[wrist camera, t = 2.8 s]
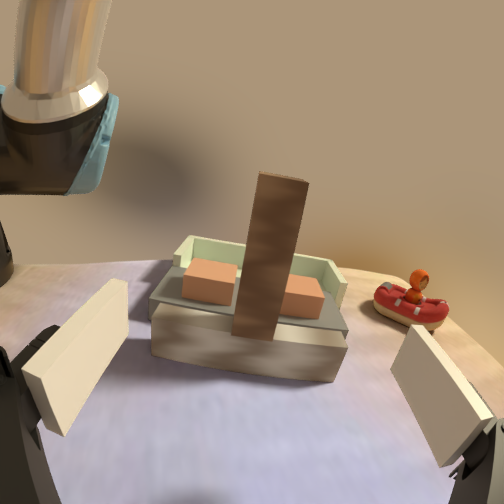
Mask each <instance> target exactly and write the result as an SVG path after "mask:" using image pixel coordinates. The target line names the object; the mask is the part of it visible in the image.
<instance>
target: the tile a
mask: <svg viewBox="0 0 504 504" xmlns="http://www.w3.org/2000/svg"><path fill="white" fill-rule="evenodd" d="M237 268H238V265H234V264H228V263H222V262H217V261H211V260H205V259H200V258H193V260H192V261H191V263H190V265H189V266H188V268H187V270H186V271H185V273H184V275H183V286H182V297H183V298H188V299H194V300H199V301H204V302H210V303H215V304H221V305H226V306H231V303H232V297H233V291H234V286H235V280H236V274H237Z"/></svg>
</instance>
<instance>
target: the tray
mask: <svg viewBox="0 0 504 504" xmlns="http://www.w3.org/2000/svg"><path fill="white" fill-rule="evenodd" d="M245 248H246V245H244V244H238V243H232V242H226V241H221V240H214V239H209V238H203V237H197V236H191V235H189V236H188V237H187V239H186V240H185V241H184V242H183V243H182V245H181V246H180V247H179V248H178V249H177V250H176V252H175V253H174V255H173V266H178V267H183V268H188V266H189V265H190V263H191V261H192V260H193V258H200V259H205V260H211V261H217V262H222V263H228V264H234V265H238V268H237V274H236V277H239V278H240V277H241V271H242V266H243V260H244V254H245ZM289 274H293V275H299V276H305V277H312V278H316V279H317V281H318V283H319V285H320V288H321V290H322V291H326V292H330V293H331V295H332V297H333V299H334V301H335V303H336V305H337V307H338V309H339V310H340V307H341V304H342V301H343V297H344V294H345V291H346V288H347V285H348V283H347V282H346V280H345V279H344V277H343V276H342V274H341V273H340V271H339V270H338V268H337V267H336V265H335V264H334V262H333V261H332V260H329V259H324V258H318V257H313V256H307V255H301V254H295V253H294V256H293V260H292V264H291V269H290V273H289Z"/></svg>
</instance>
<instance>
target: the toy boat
mask: <svg viewBox="0 0 504 504" xmlns="http://www.w3.org/2000/svg"><path fill="white" fill-rule="evenodd" d="M428 281H429V276H428V274H427V272H425V271H424V270H420V269H419V270H415V271H414V272H413V273H412V274H411V276H410V285H411V286H412V288H410V289H408V290H407V289H405V288H402V287H400V286H398V285H395V284H391V283H389V282H385V283H383V284H382V285H381V286H379V287H378V288H377V290H376V292H375V293H374V307H375V309H376V310H377V311H378V312H379V313H380V314H382V315H384V316H386V317H388V318H391V319H393V320H395V321H397V322H399V323H401V324H403V325H405V326H408V327H410V325H411V324H412V325H423V326H424V327H425V329H426V330H427V331H431V330H434V329H436V328H438V327H440V326H441V325H442V323H443V322H444V320H445V318H446V316H447V314H448V312H449V304H448V303H447V302H446V301H445V300H441V299H429V298H426V297H423V296H422V293H421V290H423V289H425V287H426V286H427V284H428Z"/></svg>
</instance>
